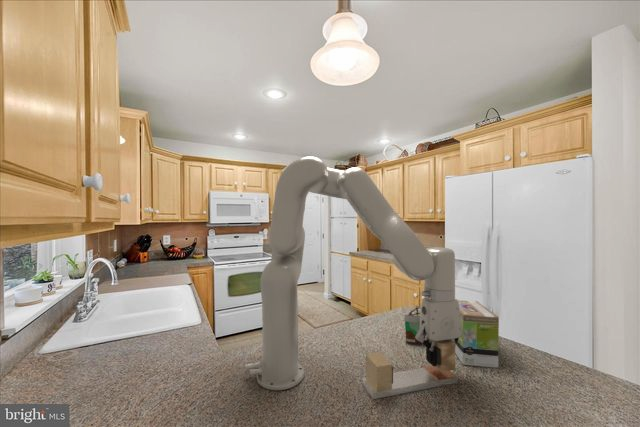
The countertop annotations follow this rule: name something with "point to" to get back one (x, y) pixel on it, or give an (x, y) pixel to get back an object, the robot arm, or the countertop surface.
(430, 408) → the countertop surface
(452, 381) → the rail
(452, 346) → the block
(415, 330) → the food container
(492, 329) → the tea box
